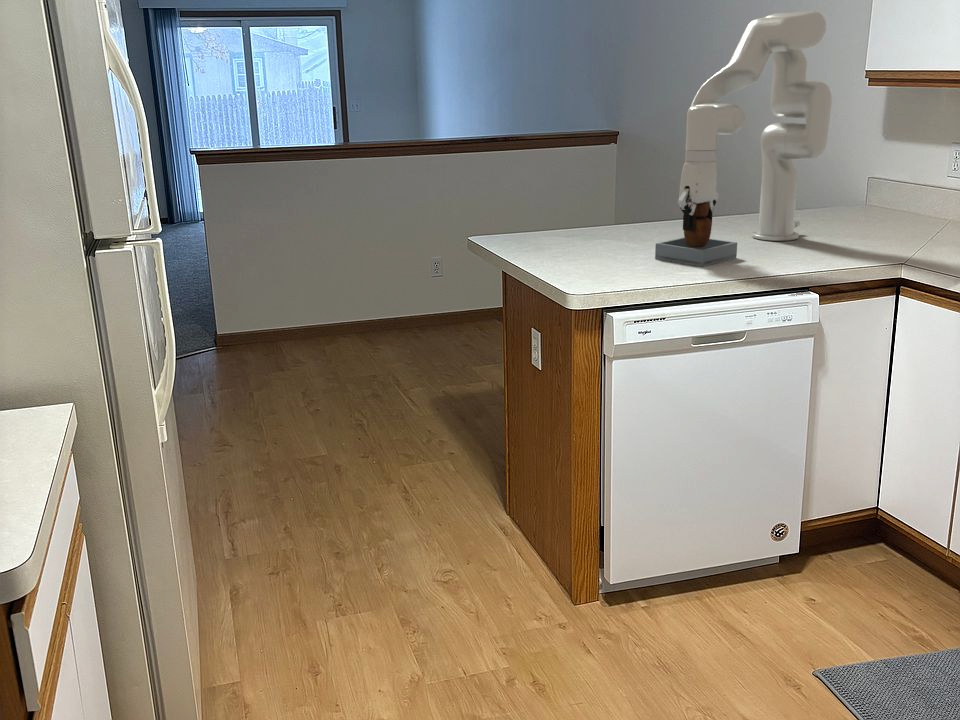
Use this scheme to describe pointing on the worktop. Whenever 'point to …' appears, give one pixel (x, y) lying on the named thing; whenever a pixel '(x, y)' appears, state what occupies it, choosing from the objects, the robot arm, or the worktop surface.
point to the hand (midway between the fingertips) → (697, 228)
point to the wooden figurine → (699, 227)
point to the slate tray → (696, 252)
